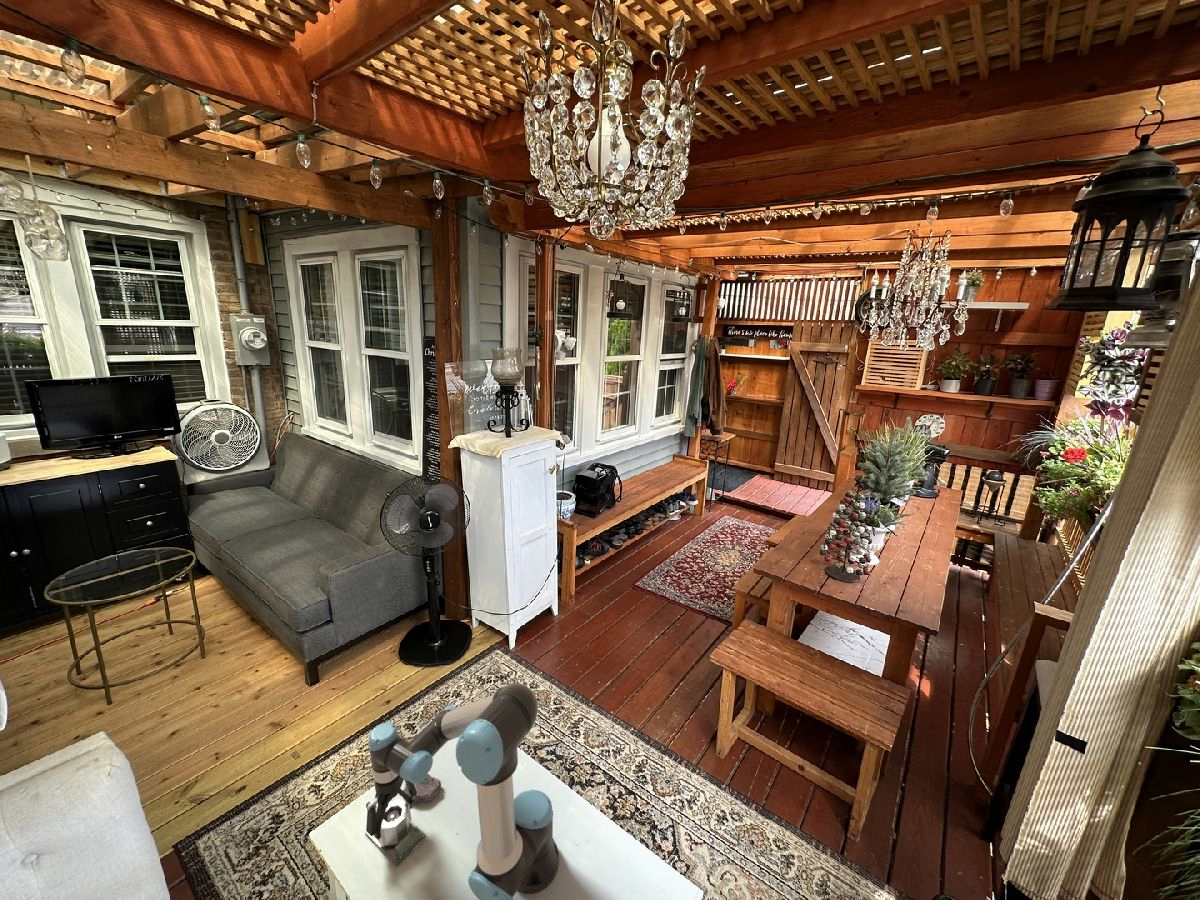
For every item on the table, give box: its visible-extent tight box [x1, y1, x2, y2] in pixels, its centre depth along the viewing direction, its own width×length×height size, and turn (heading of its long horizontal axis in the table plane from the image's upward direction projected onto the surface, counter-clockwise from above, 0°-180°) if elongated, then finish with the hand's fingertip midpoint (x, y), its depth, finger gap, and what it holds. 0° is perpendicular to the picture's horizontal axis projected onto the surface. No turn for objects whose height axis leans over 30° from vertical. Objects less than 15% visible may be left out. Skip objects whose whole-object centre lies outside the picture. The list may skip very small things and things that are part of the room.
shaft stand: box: [364, 810, 427, 868], centre depth 143 cm, size 16×10×8 cm, turn 56°
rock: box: [402, 773, 442, 802], centre depth 157 cm, size 8×11×4 cm
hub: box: [381, 799, 410, 846], centre depth 143 cm, size 8×8×7 cm
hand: (395, 830), depth 144 cm, fingers closed on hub, 8 cm apart
